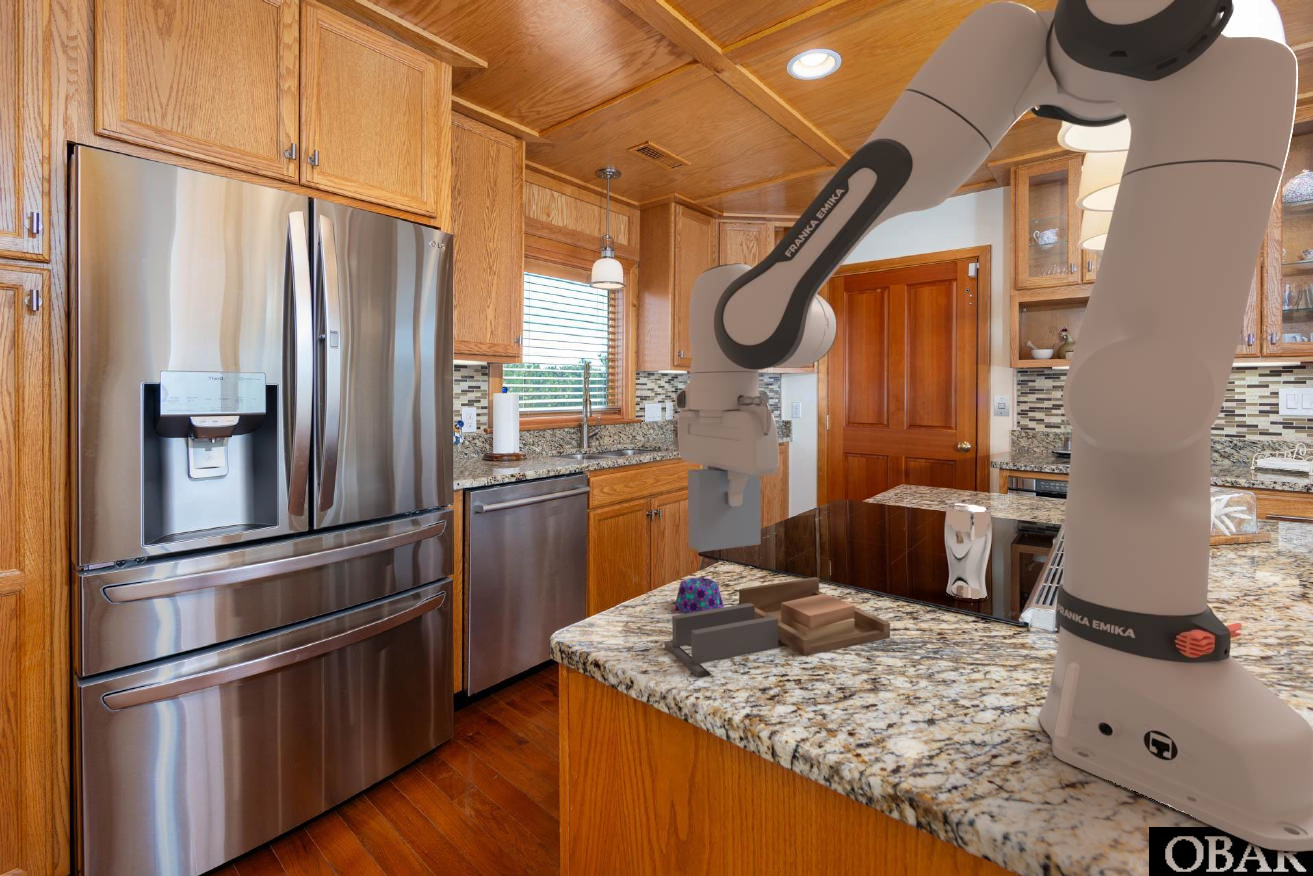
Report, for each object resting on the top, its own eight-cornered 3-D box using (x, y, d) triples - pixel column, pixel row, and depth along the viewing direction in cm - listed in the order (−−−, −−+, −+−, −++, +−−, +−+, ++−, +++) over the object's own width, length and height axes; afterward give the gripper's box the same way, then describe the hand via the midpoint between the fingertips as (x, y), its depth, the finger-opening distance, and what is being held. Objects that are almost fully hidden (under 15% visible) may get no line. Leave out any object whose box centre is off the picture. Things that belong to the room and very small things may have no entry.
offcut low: (854, 632, 86) (854, 619, 86) (806, 641, 83) (806, 628, 83) (826, 618, 92) (826, 606, 91) (780, 626, 88) (780, 614, 88)
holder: (788, 658, 80) (788, 622, 80) (698, 678, 75) (697, 639, 75) (747, 631, 89) (747, 599, 89) (664, 647, 84) (664, 612, 84)
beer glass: (1000, 600, 101) (1002, 509, 100) (968, 605, 99) (970, 512, 98) (964, 587, 108) (966, 502, 107) (934, 593, 105) (935, 505, 104)
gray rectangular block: (760, 544, 82) (760, 468, 81) (699, 551, 78) (698, 472, 77) (748, 539, 84) (748, 466, 84) (688, 546, 81) (688, 470, 80)
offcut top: (854, 618, 86) (854, 605, 86) (810, 629, 83) (810, 615, 82) (823, 605, 92) (823, 593, 92) (780, 615, 88) (780, 602, 88)
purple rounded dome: (646, 620, 95) (645, 587, 95) (682, 598, 105) (682, 567, 105) (718, 635, 89) (718, 599, 89) (749, 609, 99) (749, 577, 99)
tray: (889, 644, 84) (890, 608, 84) (804, 663, 79) (804, 624, 78) (815, 608, 99) (815, 577, 98) (739, 621, 93) (739, 588, 93)
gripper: (792, 395, 71) (792, 514, 72) (708, 395, 90) (709, 490, 91) (745, 396, 69) (745, 519, 70) (669, 396, 88) (670, 493, 89)
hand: (724, 502), depth 81 cm, fingers closed on gray rectangular block, 3 cm apart
